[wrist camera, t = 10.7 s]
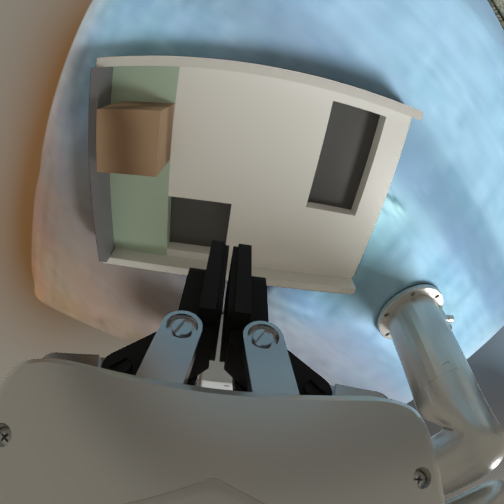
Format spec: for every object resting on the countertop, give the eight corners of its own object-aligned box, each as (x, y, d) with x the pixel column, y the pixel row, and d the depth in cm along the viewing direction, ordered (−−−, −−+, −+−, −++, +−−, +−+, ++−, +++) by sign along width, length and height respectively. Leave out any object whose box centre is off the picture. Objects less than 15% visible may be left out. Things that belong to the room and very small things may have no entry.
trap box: (405, 105, 27) (428, 114, 23) (346, 275, 41) (355, 299, 36) (113, 57, 24) (92, 58, 20) (114, 244, 37) (100, 267, 33)
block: (174, 103, 26) (160, 110, 22) (169, 159, 29) (156, 176, 25) (118, 101, 25) (96, 109, 21) (117, 155, 29) (97, 171, 24)
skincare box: (209, 311, 44) (201, 379, 35) (237, 315, 45) (235, 383, 35) (206, 336, 48) (199, 399, 38) (231, 339, 48) (229, 403, 38)
